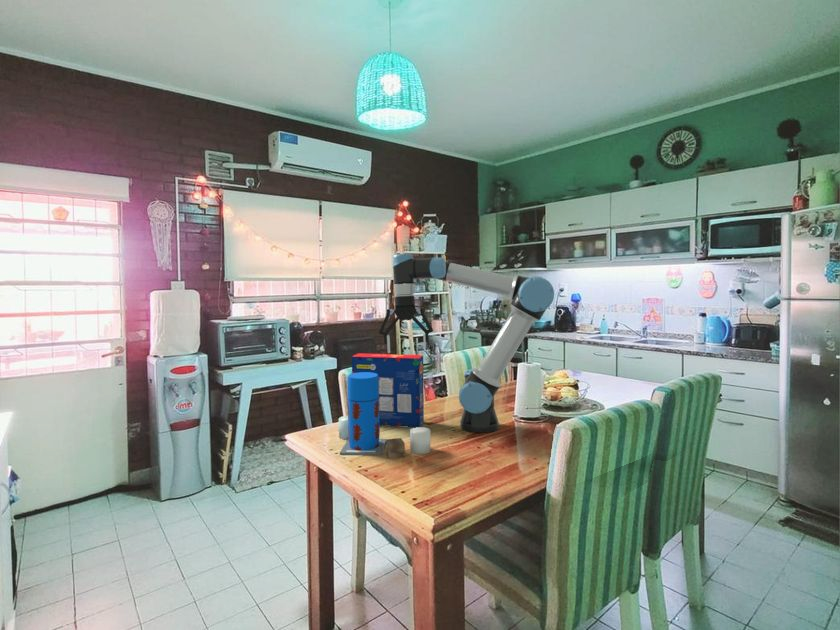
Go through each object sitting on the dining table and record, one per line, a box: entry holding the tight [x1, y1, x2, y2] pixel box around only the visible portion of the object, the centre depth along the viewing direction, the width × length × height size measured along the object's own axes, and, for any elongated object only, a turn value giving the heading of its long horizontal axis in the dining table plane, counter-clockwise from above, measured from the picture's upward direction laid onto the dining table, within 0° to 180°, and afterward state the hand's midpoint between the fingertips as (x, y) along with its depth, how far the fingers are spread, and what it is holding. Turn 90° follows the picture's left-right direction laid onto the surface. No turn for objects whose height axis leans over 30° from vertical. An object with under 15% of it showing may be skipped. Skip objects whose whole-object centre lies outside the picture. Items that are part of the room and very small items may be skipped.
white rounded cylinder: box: [409, 426, 431, 455], centre depth 157 cm, size 7×7×7 cm
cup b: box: [338, 415, 349, 441], centre depth 171 cm, size 7×7×7 cm
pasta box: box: [351, 353, 425, 428], centre depth 187 cm, size 28×8×28 cm, turn 78°
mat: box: [339, 438, 387, 456], centre depth 160 cm, size 14×14×1 cm
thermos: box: [346, 372, 381, 451], centre depth 160 cm, size 11×11×25 cm
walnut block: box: [385, 437, 406, 460], centre depth 152 cm, size 5×5×5 cm
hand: (406, 351), depth 172 cm, fingers open, 13 cm apart
